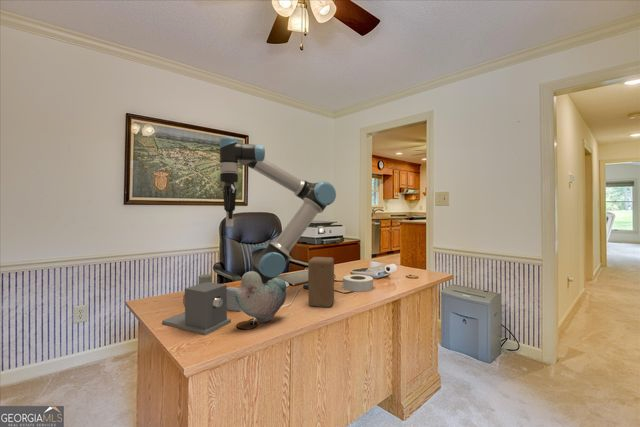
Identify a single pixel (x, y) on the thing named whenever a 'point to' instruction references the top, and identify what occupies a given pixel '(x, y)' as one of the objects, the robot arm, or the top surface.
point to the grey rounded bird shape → (260, 296)
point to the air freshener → (205, 278)
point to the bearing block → (202, 309)
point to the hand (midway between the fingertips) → (229, 226)
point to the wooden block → (321, 281)
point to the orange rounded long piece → (216, 301)
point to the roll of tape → (358, 283)
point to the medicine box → (232, 299)
